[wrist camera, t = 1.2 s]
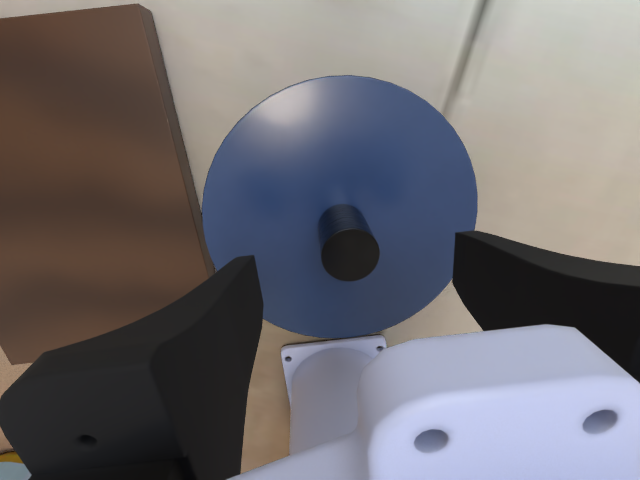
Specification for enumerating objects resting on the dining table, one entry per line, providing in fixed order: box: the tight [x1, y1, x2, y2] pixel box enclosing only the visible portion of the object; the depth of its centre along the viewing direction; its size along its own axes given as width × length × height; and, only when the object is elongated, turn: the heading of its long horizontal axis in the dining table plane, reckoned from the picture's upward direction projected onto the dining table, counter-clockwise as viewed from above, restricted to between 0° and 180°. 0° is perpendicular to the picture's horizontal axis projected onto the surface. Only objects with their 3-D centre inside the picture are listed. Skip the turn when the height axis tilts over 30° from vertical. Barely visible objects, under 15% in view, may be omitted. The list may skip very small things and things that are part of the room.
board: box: [0, 4, 215, 365], centre depth 21 cm, size 20×15×2 cm
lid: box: [202, 75, 477, 338], centre depth 16 cm, size 14×14×4 cm
